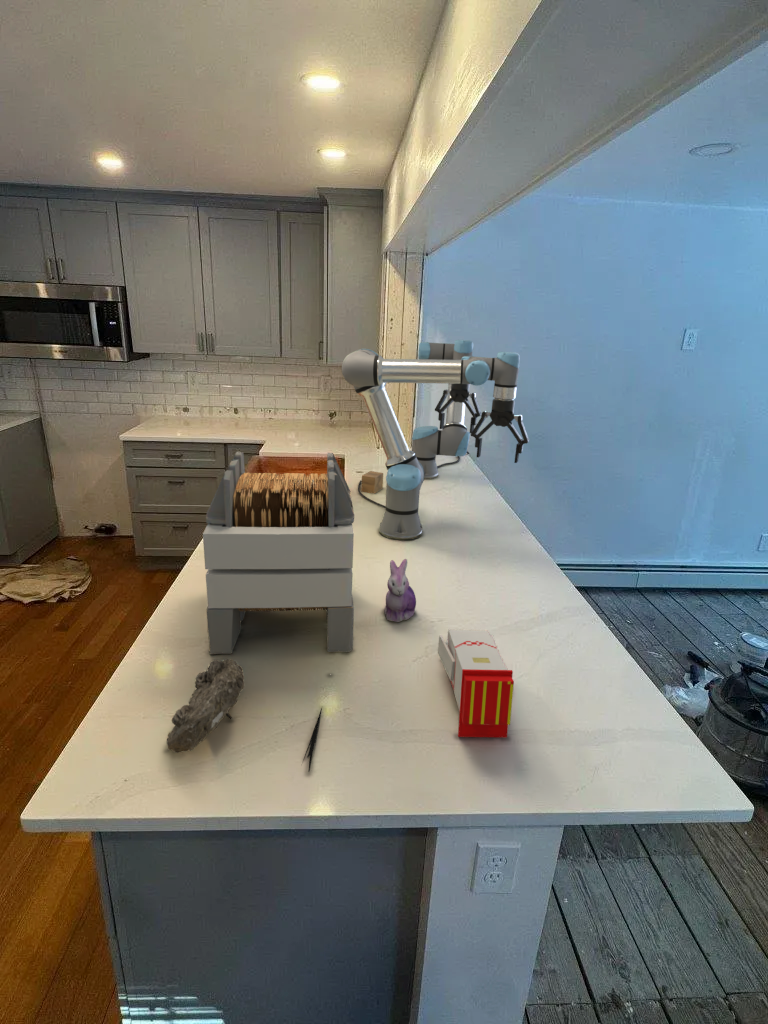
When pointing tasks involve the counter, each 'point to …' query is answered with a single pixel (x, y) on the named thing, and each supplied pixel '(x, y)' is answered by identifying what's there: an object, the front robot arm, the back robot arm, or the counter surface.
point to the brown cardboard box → (372, 482)
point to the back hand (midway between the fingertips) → (456, 430)
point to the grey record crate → (279, 550)
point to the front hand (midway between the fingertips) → (497, 459)
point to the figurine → (399, 594)
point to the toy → (478, 682)
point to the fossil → (206, 705)
